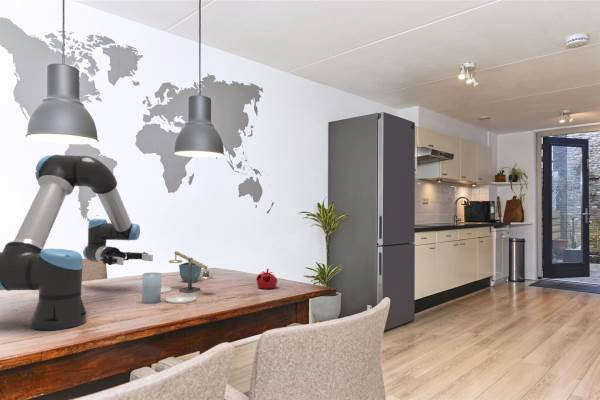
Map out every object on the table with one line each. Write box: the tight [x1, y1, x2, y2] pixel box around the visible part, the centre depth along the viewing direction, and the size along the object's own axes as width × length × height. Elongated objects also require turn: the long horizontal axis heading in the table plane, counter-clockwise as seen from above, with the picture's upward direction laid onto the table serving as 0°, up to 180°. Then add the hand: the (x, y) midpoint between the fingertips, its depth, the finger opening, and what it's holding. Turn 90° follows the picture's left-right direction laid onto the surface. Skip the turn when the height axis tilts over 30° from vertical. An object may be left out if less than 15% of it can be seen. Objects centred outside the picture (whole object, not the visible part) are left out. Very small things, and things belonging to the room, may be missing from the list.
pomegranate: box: [256, 268, 278, 290], centre depth 191 cm, size 10×10×9 cm
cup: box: [141, 272, 162, 305], centre depth 159 cm, size 7×7×11 cm
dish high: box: [161, 285, 172, 294], centre depth 178 cm, size 12×12×1 cm
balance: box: [168, 251, 214, 294], centre depth 180 cm, size 7×26×17 cm, turn 56°
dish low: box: [165, 293, 197, 305], centre depth 162 cm, size 12×12×1 cm
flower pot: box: [178, 261, 203, 283], centre depth 203 cm, size 9×9×9 cm
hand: (137, 259), depth 164 cm, fingers open, 13 cm apart
